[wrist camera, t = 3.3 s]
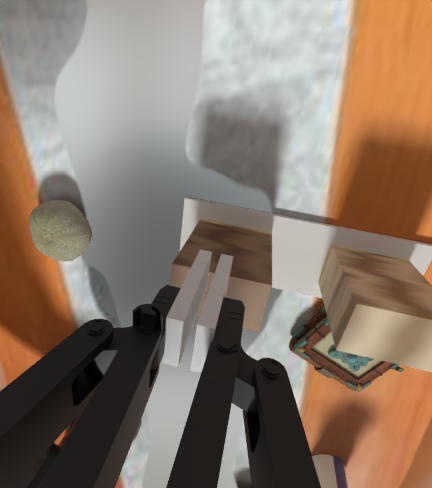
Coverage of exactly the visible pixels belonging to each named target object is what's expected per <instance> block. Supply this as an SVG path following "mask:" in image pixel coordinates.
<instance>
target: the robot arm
mask: <svg viewBox="0 0 432 488" xmlns="http://www.w3.org/2000/svg"><path fill="white" fill-rule="evenodd" d="M211 255H212V252H210V251H206V250H201V249H200V251H199V253H198V255H197V257H196V259H195V261H194V263H193V265H192V267H191V269H190V271H189V273H188V275H187V277H186V279H185V281H184V283H183V285H182V287H181V288H179V287H174V286H170V285H166V286H165V287H163V288H162V289H160V291H159V292H158V294H157V296H156V297H155V299H154V300H153V302H152V304H144V305H140V306H138V307H136V308H135V309H134V310H133V326H131V327H126V328H113V326H112V324H111V322H109V321H108V320H104V319H94V320H91V321H88V322H87V323H85V324H83V325H82V326H81V327H80V328H78V329H77V330H76V331H75V332H74V333H72V334H71V335H70V336H69V337H67V338H66V339H65V340H64V341H62V342H61V343H60V344H59V345H57V346H56V347H55V348H54V349H52V350H51V351H50V352H49V353H47V354H46V355H45V356H44V357H42V358H41V359H40V360H39V361H37V362H36V363H35V364H34V365H32V366H31V367H30V368H29V369H28V370H26V371H25V372H24V373H23V374H21V375H20V376H19V377H18V378H16V379H15V380H14V381H13V382H11V383H10V384H9V385H8V386H6V387H5V388H4V389H3V390H2V391H0V488H115V486H116V483H117V480H118V478H119V475H120V472H121V470H122V467H123V465H124V462H125V459H126V457H127V454H128V451H129V449H130V446H131V444H132V442H133V440H134V439H135V438H136V436H137V434H138V431H139V429H140V426H141V417H142V415H143V412H144V409H145V407H146V404H147V402H148V399H149V396H150V394H151V391H152V388H153V386H154V383H155V381H156V378H157V375H158V372H159V364H160V362H161V359H162V357H163V362H162V363H164V364H168V365H172V366H176V367H178V366H179V363H180V360H181V357H182V355H183V352H184V349H185V346H186V344H187V341H188V338H189V335H190V332H191V330H192V327H193V324H194V321H195V318H196V316H197V313H198V310H199V307H200V304H201V302H202V299H203V296H204V293H205V291H206V287H207V281H208V275H209V268H210V262H211ZM232 261H233V256H229V255H225V254H221V256H220V259H219V262H218V265H217V268H216V271H215V274H214V277H213V280H212V283H211V286H210V289H209V292H208V295H207V298H206V301H205V304H204V307H203V309H202V312H201V315H200V318H199V321H198V324H197V331H196V337H195V344H194V350H193V357H192V364H191V370H192V371H197V372H200V373H201V376H200V379H199V383H198V386H197V389H196V392H195V395H194V399H193V402H192V405H191V409H190V412H189V415H188V418H187V422H186V425H185V428H184V432H183V435H182V438H181V441H180V445H179V448H178V451H177V454H176V458H175V461H174V464H173V468H172V471H171V474H170V477H169V481H168V484H167V488H217V484H218V478H219V472H220V467H221V460H222V455H223V449H224V443H225V438H226V432H227V426H228V420H229V414H230V408H231V403H233V404H235V405H237V406H238V407H240V408H241V409H243V417H244V425H245V433H246V442H247V450H248V458H249V466H250V475H251V483H252V488H321V485H320V482H319V479H318V475H317V472H316V468H315V465H314V462H313V458H312V455H311V452H310V448H309V445H308V442H307V438H306V435H305V431H304V428H303V425H302V421H301V418H300V415H299V411H298V408H297V404H296V401H295V398H294V394H293V391H292V388H291V384H290V381H289V378H288V374H287V371H286V369H285V367H284V366H283V365H282V364H281V363H280V362H278V361H276V360H274V359H271V358H262V359H260V360H258V361H257V360H255V359H253V358H251V357H250V356H248V355H247V354H246V353H245V352H244V351H243V349H242V347H241V335H242V328H243V320H244V312H245V307H244V304H243V302H242V301H240V300H235V299H231V298H226V297H225V296H226V292H227V287H228V282H229V277H230V271H231V266H232ZM65 429H66V432H65V435H64V437H63V439H62V440H61V442H60V444H59V445H56V444H55V443H54V441H55V440H56V439H57V438H58V437H59V436H60V435H61V433H62V432H63V431H64V430H65Z"/></svg>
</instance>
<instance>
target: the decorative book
mask: <svg viewBox="0 0 432 488" xmlns="http://www.w3.org/2000/svg"><path fill="white" fill-rule="evenodd" d="M289 348H290V350H291V351H292V352H293V353H295V354H296V355H298V356H300V357H301V358H303V359H304V360H306V361H307V362H309V363H310V364H312V365H314V368H315V370H316V371H318V372H319V373H321V374H322V375H324V376H326V377H327V378H334V379H335V380H337V381H338V382H340V383H342V384H343V385H345V386H346V387H348V388H349V389H351V390H353V391H358V392H359V391H361V390H363V389H364V388H366V387H367V386H369V385H370V384H371V381H373V380H374V379H376V378H377V377H379V376H380V375H381V376H382V374H383V373H385V372H386V371H388V370H389V369H392V370H393V369H395V368H396V367H397V366H399V365H398V364H394V363H390V362H385V361H381V360H377V359H372V358H368V357H364V356H359V355H355V354H351V353H347V352H342V351H338V350H336V348H335V344H334V340H333V336H332V333H331V329H330V325H329V321H328V317H327V314H326V310H325V306H323V307H322V308H321V311H320V312H319V313H318V314H317V315H316V316H315V317H313V318H312V319H311V320H310V321H309V322H308V323H307V324H306V325H302V326H301V327H300V328H299V329H298V330H296V331H295V332H294V333H293V337H292V338H291V340H290V343H289ZM399 368H400V367H397V368H396V371H400V372H402V371H403V369H402V368H400V369H399Z"/></svg>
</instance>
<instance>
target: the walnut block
mask: <svg viewBox="0 0 432 488" xmlns="http://www.w3.org/2000/svg"><path fill="white" fill-rule="evenodd" d="M200 249H201V250H206V251H210V252H212V255H211V262H210V268H209V275H208V281H207V287H206V291H205V293H204V296H203V299H202V302H201V304H200V307H199V310H198V313H197V316H196V318H200V315H201V312H202V309H203V307H204V304H205V301H206V298H207V295H208V292H209V289H210V286H211V283H212V280H213V277H214V274H215V271H216V268H217V265H218V262H219V259H220V256H221V254H225V255H229V256H233V261H232V266H231V271H230V277H229V282H228V287H227V292H226V296H225V297H226V298H231V299H235V300H240V301H242V302H243V304H244V307H245V312H244V320H243V329H247V330H251V331H256V332H259V331H260V328H261V324H262V320H263V317H264V313H265V310H266V306H267V302H268V299H269V295H270V291H271V288H272V233H269V232H264V231H259V230H254V229H249V228H244V227H239V226H234V225H229V224H224V223H219V222H214V221H209V220H204V219H200V220H199V222H198V224H197V225H196V227H195V228H194V230H193V232H192V233H191V235H190V236H189V238H188V239H187V241H186V243H185V244H184V246H183V247H182V249H181V251H180V252H179V254H178V255H177V257H176V259H175V260H174V262H173V264H172V272H171V284H170V286H174V287H179V288H181V287H182V285H183V283H184V281H185V279H186V277H187V275H188V273H189V271H190V269H191V267H192V265H193V263H194V261H195V259H196V257H197V255H198V253H199V251H200Z"/></svg>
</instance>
